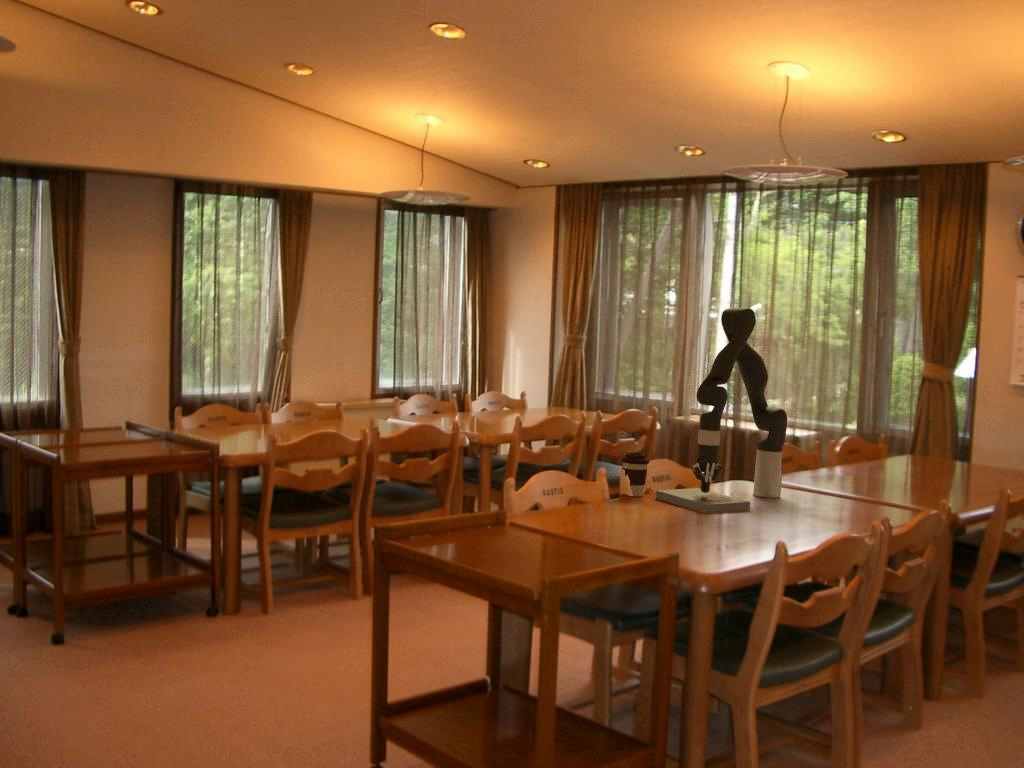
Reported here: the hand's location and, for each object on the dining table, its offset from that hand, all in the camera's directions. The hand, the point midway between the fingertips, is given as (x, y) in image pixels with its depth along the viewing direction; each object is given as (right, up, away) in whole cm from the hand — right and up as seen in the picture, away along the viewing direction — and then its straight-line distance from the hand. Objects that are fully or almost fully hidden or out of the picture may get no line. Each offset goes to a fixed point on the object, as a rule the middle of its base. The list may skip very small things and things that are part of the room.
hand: (704, 492), depth 362 cm
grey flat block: (-1, -4, +1) cm, 5 cm away
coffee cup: (-24, -2, +12) cm, 26 cm away
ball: (+2, -2, -4) cm, 5 cm away
